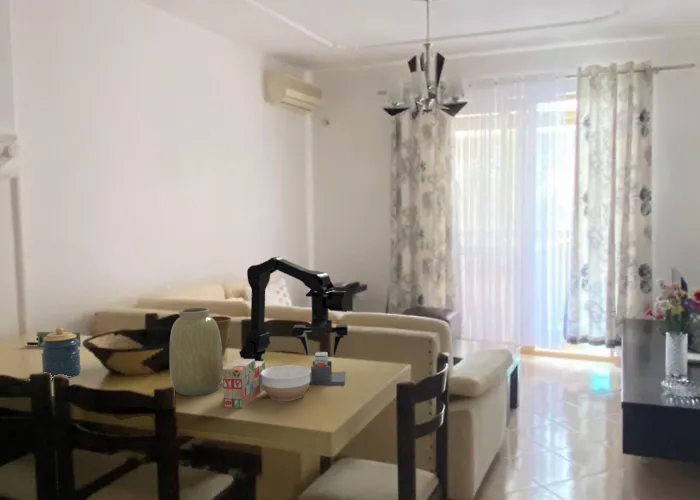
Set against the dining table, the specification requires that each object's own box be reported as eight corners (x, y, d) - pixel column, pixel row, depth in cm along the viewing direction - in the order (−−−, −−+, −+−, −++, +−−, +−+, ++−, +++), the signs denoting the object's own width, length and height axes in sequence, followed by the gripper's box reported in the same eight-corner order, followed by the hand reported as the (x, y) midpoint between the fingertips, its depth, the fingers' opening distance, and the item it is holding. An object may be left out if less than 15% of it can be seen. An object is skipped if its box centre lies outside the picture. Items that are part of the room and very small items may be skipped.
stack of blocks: (248, 387, 218) (247, 351, 217) (266, 388, 217) (265, 352, 216) (223, 408, 197) (222, 368, 196) (243, 408, 196) (241, 368, 195)
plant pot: (239, 358, 259) (238, 318, 257) (205, 365, 249) (204, 324, 248) (221, 352, 270) (219, 314, 269) (187, 358, 260) (186, 319, 259)
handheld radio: (77, 348, 285) (25, 347, 288) (81, 346, 288) (29, 345, 292) (77, 332, 284) (24, 332, 288) (81, 331, 288) (29, 331, 291)
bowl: (316, 400, 203) (316, 375, 202) (265, 405, 198) (264, 380, 198) (305, 386, 218) (304, 363, 217) (257, 391, 214) (257, 367, 213)
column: (315, 380, 220) (314, 355, 220) (316, 375, 226) (315, 352, 225) (327, 379, 220) (326, 355, 220) (328, 375, 226) (327, 352, 225)
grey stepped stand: (297, 385, 219) (296, 365, 218) (301, 375, 231) (300, 356, 230) (344, 385, 218) (344, 364, 218) (345, 375, 230) (345, 355, 230)
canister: (80, 368, 248) (77, 323, 246) (82, 376, 236) (79, 328, 235) (42, 373, 242) (39, 326, 241) (42, 381, 231) (39, 332, 229)
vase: (179, 382, 225) (176, 306, 223) (228, 382, 225) (225, 305, 223) (163, 398, 208) (160, 314, 206) (217, 397, 208) (213, 314, 206)
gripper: (289, 314, 213) (291, 361, 215) (346, 313, 213) (347, 360, 214) (293, 308, 225) (294, 353, 226) (347, 308, 224) (348, 352, 225)
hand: (321, 354), depth 222 cm, fingers open, 9 cm apart
